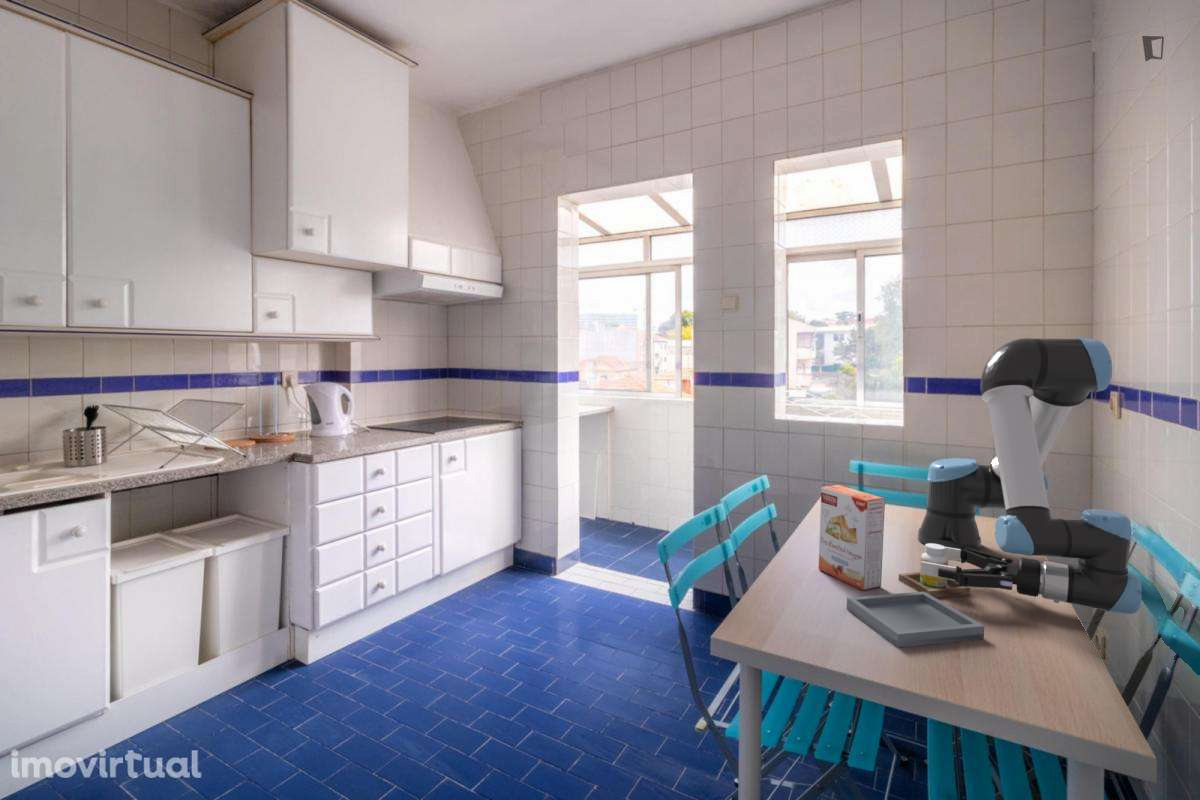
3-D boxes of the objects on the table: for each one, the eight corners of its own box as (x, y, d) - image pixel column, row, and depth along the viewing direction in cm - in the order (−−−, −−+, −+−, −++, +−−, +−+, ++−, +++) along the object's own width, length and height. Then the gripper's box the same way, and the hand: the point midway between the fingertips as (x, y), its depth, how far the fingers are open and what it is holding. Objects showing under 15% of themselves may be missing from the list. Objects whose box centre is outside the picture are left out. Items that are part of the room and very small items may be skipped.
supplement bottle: (943, 594, 133) (946, 551, 132) (917, 587, 136) (919, 546, 135) (948, 586, 137) (951, 545, 136) (922, 580, 140) (924, 540, 139)
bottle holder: (936, 577, 142) (936, 571, 142) (969, 594, 132) (969, 587, 132) (898, 580, 140) (899, 573, 140) (929, 597, 131) (929, 591, 130)
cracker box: (816, 570, 147) (819, 485, 145) (835, 566, 149) (838, 483, 147) (862, 591, 134) (866, 499, 132) (882, 587, 136) (886, 497, 134)
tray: (923, 602, 128) (924, 591, 128) (983, 638, 112) (984, 626, 112) (846, 609, 125) (846, 597, 125) (897, 647, 109) (898, 634, 109)
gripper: (1041, 619, 115) (916, 592, 127) (1037, 577, 135) (930, 558, 147) (1044, 581, 114) (918, 558, 126) (1039, 545, 135) (931, 528, 146)
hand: (924, 558), depth 137 cm, fingers open, 13 cm apart
